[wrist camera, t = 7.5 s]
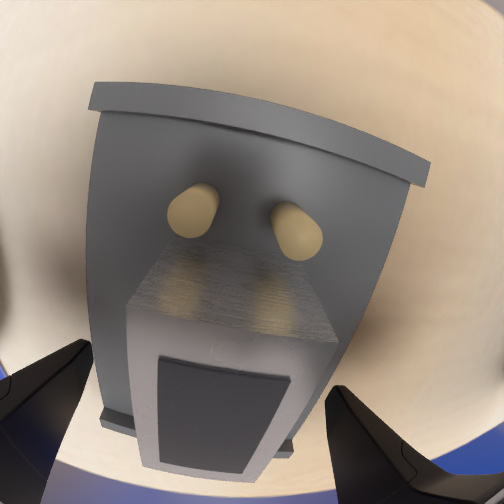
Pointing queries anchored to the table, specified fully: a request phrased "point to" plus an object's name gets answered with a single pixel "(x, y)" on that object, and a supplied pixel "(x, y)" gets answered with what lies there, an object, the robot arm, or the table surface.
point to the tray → (232, 206)
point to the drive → (222, 357)
